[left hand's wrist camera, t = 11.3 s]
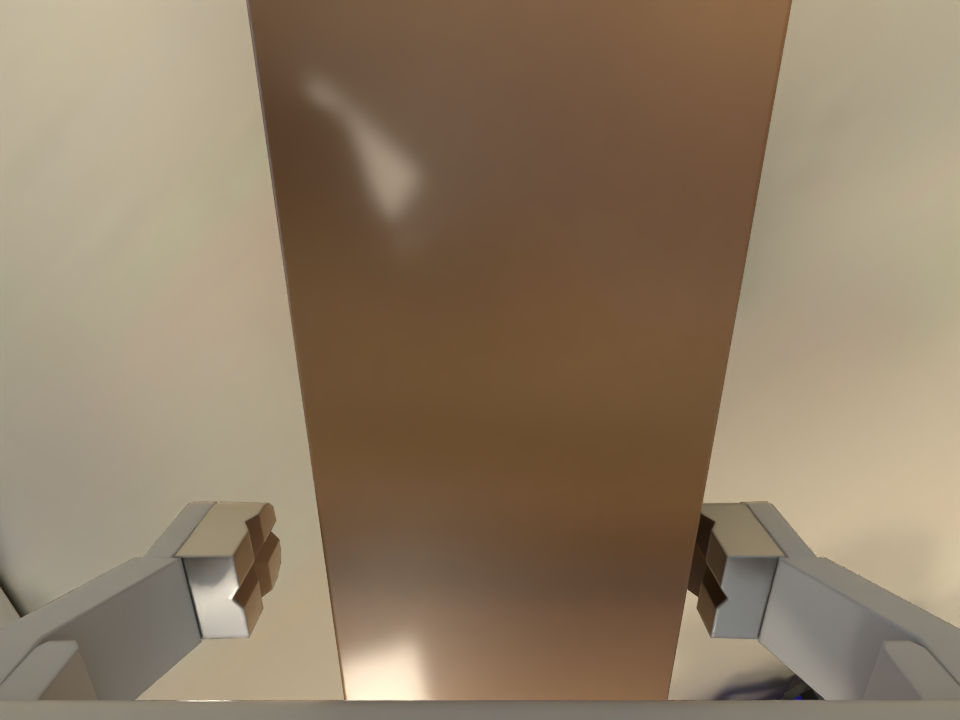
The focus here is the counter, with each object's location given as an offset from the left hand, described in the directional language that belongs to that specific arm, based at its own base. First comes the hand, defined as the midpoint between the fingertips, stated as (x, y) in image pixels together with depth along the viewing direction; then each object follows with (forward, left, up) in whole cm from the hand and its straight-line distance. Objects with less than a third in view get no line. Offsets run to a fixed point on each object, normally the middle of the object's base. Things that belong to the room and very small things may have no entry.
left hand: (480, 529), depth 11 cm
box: (+6, -3, -11) cm, 13 cm away
